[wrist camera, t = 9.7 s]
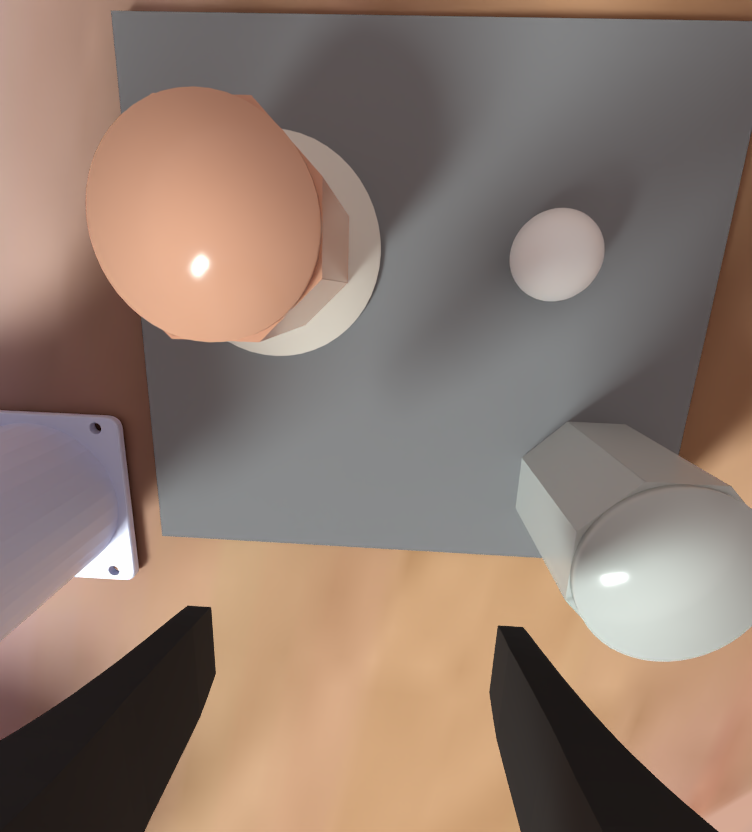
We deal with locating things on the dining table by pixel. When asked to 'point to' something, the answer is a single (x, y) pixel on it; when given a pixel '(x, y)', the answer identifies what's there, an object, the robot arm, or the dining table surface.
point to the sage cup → (639, 541)
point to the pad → (361, 258)
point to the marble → (557, 254)
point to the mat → (453, 264)
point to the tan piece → (213, 218)
